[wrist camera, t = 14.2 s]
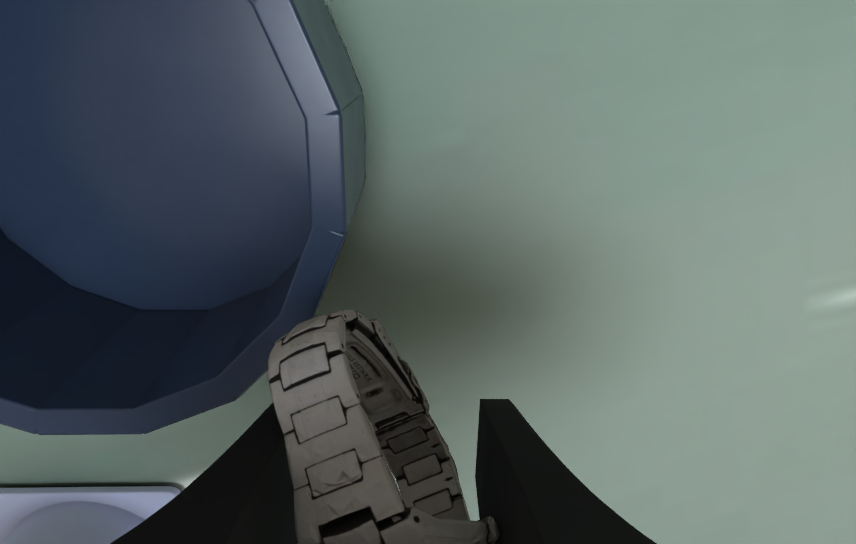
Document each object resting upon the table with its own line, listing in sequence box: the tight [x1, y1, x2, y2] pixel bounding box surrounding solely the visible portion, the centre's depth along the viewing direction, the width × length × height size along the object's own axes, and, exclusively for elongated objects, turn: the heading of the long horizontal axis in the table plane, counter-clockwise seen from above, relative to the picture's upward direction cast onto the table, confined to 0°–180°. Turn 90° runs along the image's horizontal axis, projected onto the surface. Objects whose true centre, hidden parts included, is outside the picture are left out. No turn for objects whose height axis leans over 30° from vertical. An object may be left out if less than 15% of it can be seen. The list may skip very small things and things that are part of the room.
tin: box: [0, 0, 366, 435], centre depth 15 cm, size 14×14×6 cm
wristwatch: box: [268, 310, 500, 544], centre depth 11 cm, size 4×6×5 cm, turn 25°
